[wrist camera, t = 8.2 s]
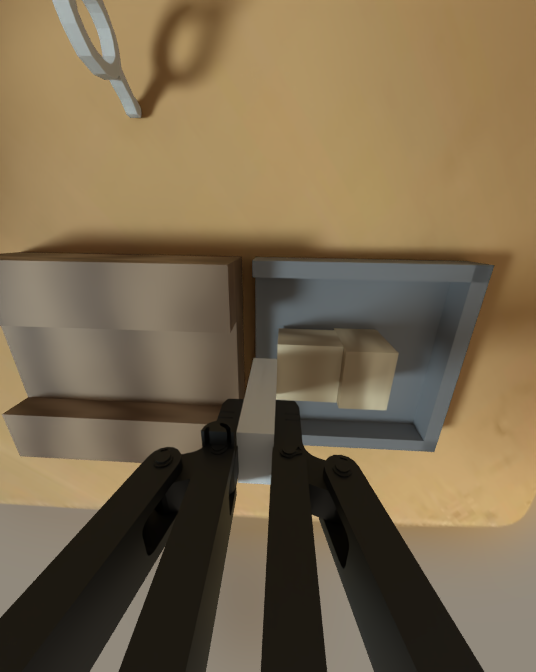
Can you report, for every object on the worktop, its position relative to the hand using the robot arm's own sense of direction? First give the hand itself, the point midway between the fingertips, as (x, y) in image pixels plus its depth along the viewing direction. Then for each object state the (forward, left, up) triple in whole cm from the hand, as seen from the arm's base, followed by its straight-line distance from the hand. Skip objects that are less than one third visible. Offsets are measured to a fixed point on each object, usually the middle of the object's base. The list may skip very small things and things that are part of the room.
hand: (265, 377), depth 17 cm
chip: (+5, 0, -2) cm, 5 cm away
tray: (+6, 0, -4) cm, 7 cm away
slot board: (-10, 0, -4) cm, 11 cm away
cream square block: (+3, 0, -3) cm, 4 cm away
